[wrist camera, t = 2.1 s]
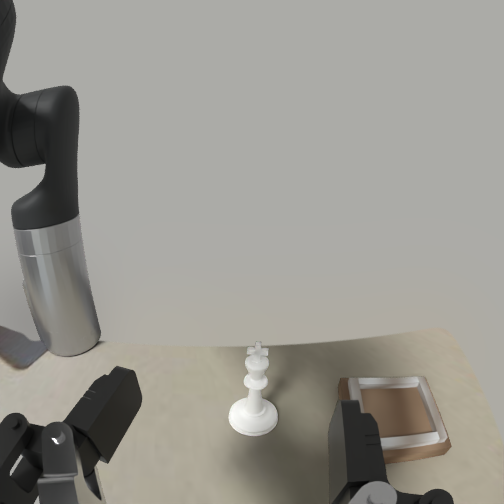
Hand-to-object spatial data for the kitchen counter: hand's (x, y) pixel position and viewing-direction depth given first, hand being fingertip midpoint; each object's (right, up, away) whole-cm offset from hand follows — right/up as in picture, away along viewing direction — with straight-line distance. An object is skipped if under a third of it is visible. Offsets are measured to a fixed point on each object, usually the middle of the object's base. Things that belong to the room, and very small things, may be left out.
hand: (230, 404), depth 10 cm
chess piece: (+1, -11, +16) cm, 19 cm away
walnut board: (+15, -12, +14) cm, 24 cm away
